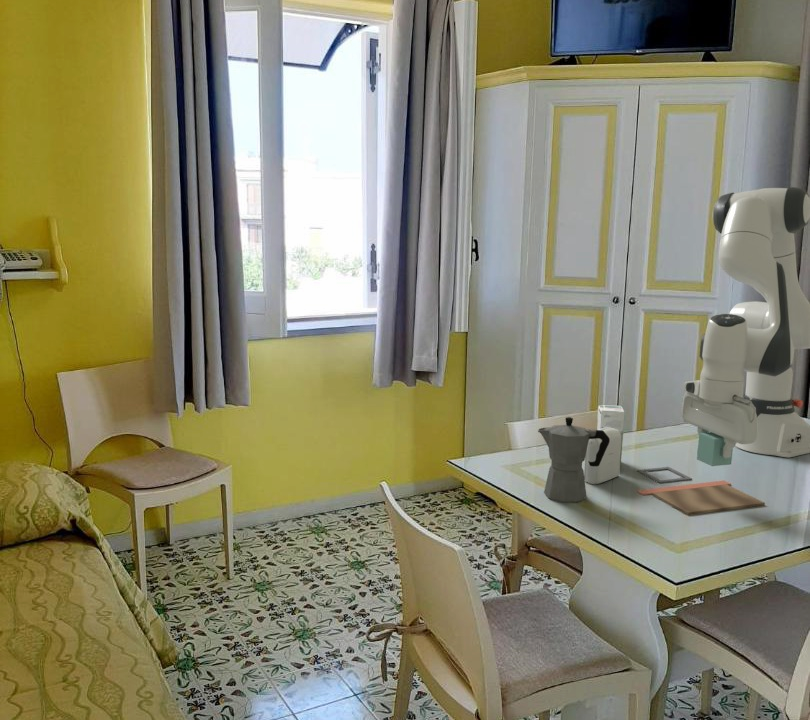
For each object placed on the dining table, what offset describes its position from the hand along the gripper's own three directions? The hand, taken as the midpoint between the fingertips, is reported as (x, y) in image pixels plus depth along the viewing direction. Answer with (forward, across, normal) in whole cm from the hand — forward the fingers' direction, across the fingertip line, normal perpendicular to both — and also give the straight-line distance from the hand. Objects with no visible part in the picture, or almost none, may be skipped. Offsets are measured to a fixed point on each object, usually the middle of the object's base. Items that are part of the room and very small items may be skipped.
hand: (714, 452), depth 174 cm
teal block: (+2, 0, 0) cm, 2 cm away
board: (+11, 0, +1) cm, 11 cm away
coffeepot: (+11, +11, +29) cm, 33 cm away
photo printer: (+11, +19, +16) cm, 27 cm away
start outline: (+11, +17, 0) cm, 20 cm away
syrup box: (+11, +29, +8) cm, 32 cm away
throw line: (+11, +8, +1) cm, 14 cm away
